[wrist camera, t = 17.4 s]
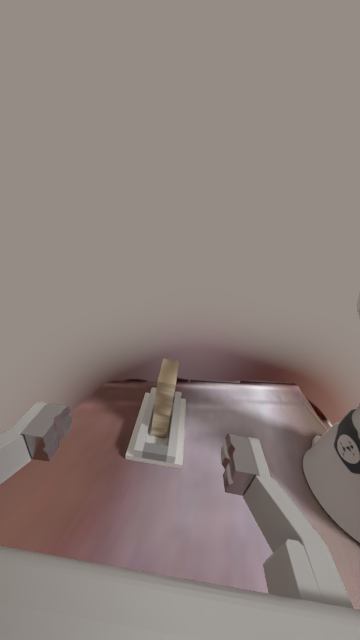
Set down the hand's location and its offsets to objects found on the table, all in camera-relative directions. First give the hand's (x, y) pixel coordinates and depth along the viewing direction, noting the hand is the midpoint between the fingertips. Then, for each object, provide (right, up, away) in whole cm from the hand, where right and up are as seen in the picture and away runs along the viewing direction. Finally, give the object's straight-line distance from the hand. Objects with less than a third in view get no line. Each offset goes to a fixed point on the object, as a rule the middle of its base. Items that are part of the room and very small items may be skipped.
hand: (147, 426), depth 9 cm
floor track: (-2, -17, +29) cm, 34 cm away
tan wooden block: (-2, -16, +29) cm, 33 cm away
